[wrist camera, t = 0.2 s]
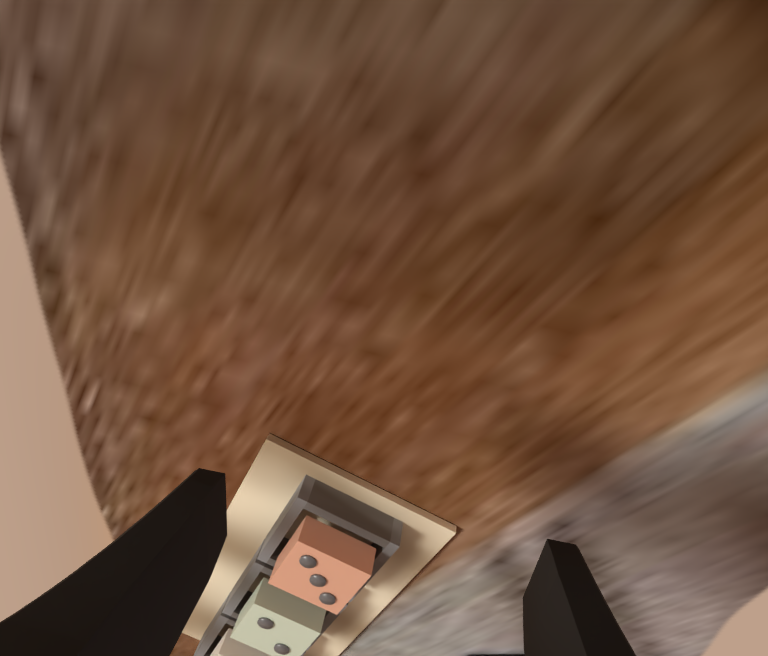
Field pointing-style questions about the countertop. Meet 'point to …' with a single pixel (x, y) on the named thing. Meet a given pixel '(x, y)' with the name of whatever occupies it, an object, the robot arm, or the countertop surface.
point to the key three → (323, 565)
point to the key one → (234, 647)
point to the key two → (278, 622)
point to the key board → (282, 518)
